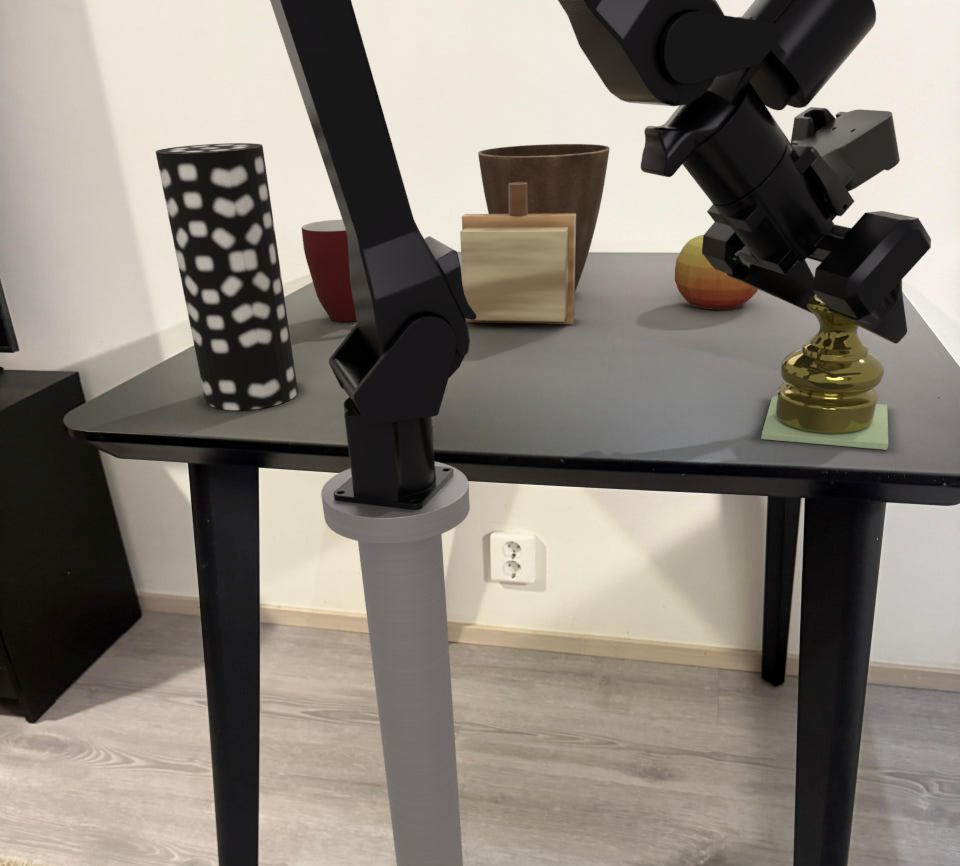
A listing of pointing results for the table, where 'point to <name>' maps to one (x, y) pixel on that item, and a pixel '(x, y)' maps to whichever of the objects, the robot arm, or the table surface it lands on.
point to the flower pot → (550, 184)
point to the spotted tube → (230, 272)
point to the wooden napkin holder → (519, 264)
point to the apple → (707, 280)
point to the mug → (330, 267)
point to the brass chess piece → (829, 379)
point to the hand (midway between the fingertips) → (858, 323)
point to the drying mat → (865, 438)
